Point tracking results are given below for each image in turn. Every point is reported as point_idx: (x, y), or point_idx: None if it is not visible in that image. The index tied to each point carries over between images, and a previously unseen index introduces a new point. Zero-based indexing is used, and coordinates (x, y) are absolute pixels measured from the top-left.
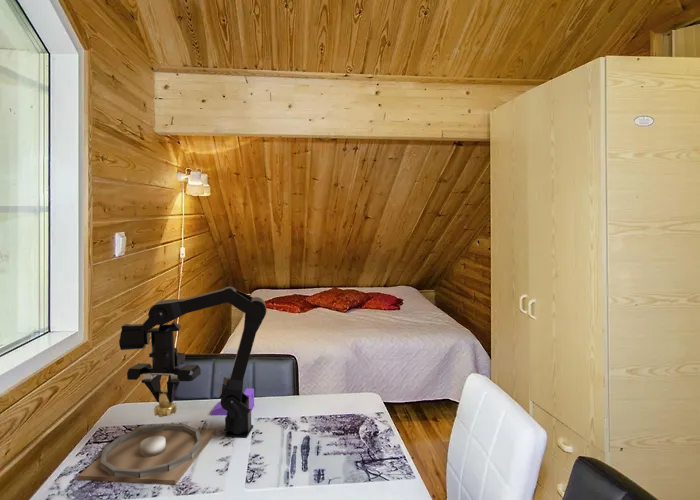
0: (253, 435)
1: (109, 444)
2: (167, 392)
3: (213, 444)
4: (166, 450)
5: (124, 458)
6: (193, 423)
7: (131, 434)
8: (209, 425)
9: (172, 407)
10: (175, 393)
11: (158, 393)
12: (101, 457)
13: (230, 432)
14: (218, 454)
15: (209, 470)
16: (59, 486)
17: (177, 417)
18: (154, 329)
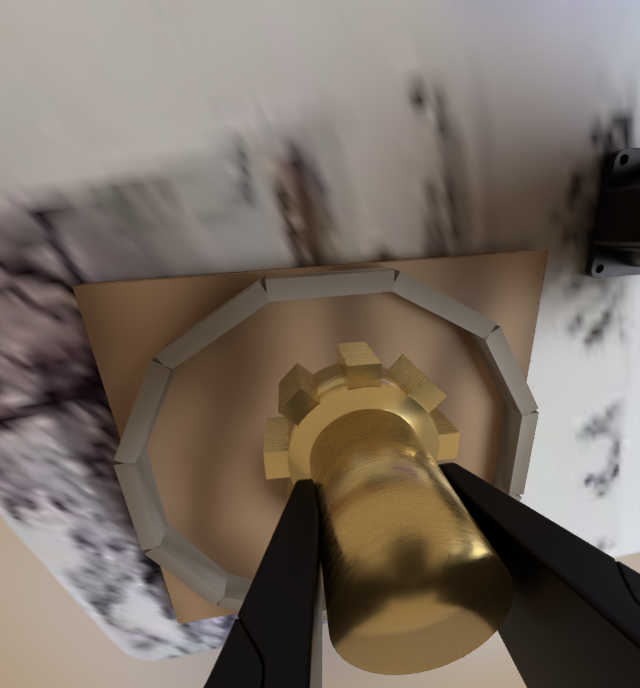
0: None
1: (132, 516)
2: (475, 620)
3: (544, 344)
4: None
5: (258, 526)
6: (375, 143)
7: (154, 414)
8: (478, 158)
9: (437, 457)
10: (543, 519)
11: (319, 613)
12: (190, 586)
13: (620, 256)
14: (576, 405)
15: (564, 487)
16: (156, 637)
17: (222, 56)
18: None
